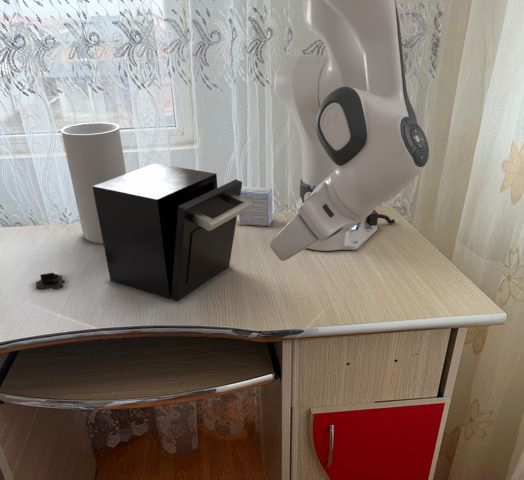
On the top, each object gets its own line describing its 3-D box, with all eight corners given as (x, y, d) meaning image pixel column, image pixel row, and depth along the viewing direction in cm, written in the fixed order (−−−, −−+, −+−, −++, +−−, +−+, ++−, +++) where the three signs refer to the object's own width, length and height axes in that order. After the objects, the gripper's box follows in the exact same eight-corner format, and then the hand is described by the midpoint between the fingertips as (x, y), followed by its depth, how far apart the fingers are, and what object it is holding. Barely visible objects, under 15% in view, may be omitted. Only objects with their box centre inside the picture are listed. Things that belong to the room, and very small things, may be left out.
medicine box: (272, 220, 140) (272, 187, 135) (269, 227, 137) (268, 193, 132) (243, 218, 142) (242, 186, 137) (239, 225, 138) (237, 191, 133)
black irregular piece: (33, 270, 112) (61, 265, 114) (36, 280, 114) (63, 275, 115) (34, 282, 108) (62, 277, 109) (37, 292, 109) (65, 287, 111)
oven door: (245, 275, 116) (261, 190, 104) (194, 311, 104) (205, 219, 91) (223, 264, 118) (235, 179, 105) (170, 298, 105) (178, 206, 93)
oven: (222, 265, 118) (216, 173, 107) (170, 299, 106) (157, 199, 94) (165, 250, 125) (155, 163, 114) (110, 281, 113) (92, 186, 101)
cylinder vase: (82, 247, 128) (59, 136, 114) (84, 228, 138) (63, 124, 124) (136, 241, 130) (119, 132, 116) (134, 223, 140) (118, 121, 126)
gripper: (353, 171, 94) (301, 216, 103) (297, 206, 79) (243, 254, 89) (374, 201, 94) (321, 242, 104) (323, 240, 80) (267, 285, 89)
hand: (285, 248), depth 96 cm, fingers closed
